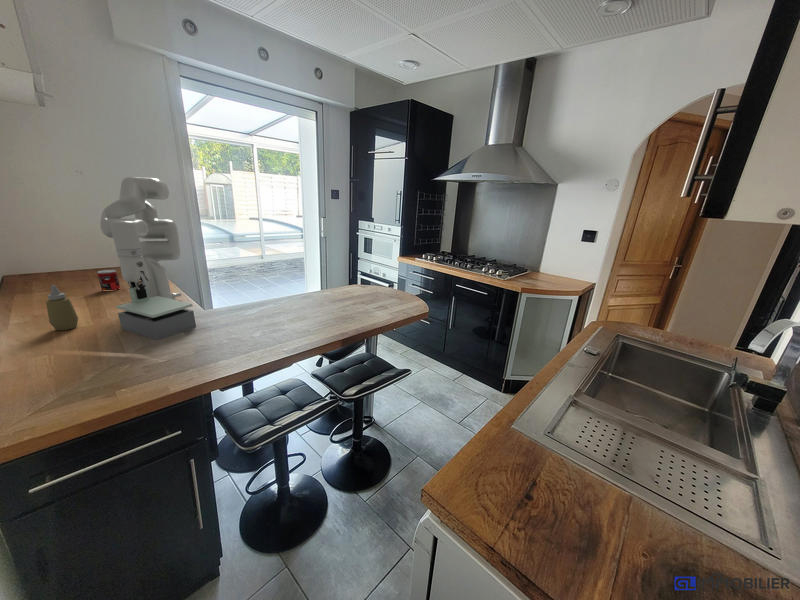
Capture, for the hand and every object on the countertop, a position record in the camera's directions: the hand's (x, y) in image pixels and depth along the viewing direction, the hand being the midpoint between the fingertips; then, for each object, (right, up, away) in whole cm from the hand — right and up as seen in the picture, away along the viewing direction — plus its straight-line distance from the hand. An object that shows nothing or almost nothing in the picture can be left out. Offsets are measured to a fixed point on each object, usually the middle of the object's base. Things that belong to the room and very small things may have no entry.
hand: (140, 297), depth 126 cm
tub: (+8, -14, 0) cm, 16 cm away
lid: (+8, -5, -2) cm, 10 cm away
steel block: (+3, -13, -1) cm, 13 cm away
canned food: (-60, +5, +51) cm, 79 cm away
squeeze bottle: (-29, -13, -1) cm, 32 cm away
